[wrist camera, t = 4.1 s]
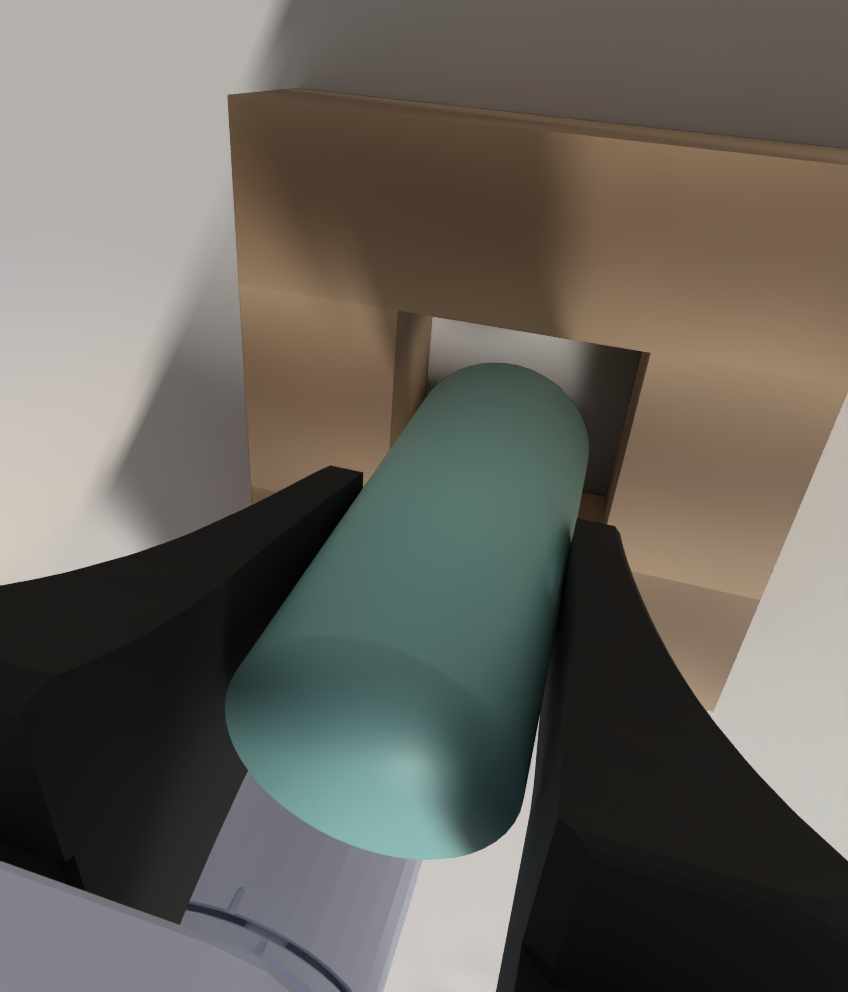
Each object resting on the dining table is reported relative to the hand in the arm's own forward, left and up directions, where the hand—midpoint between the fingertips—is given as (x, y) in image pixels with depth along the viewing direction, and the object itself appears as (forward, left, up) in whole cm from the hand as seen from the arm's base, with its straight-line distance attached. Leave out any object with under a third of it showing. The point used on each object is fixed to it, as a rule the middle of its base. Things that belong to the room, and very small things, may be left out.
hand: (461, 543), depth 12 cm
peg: (0, 0, -3) cm, 3 cm away
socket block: (0, 0, -7) cm, 7 cm away
